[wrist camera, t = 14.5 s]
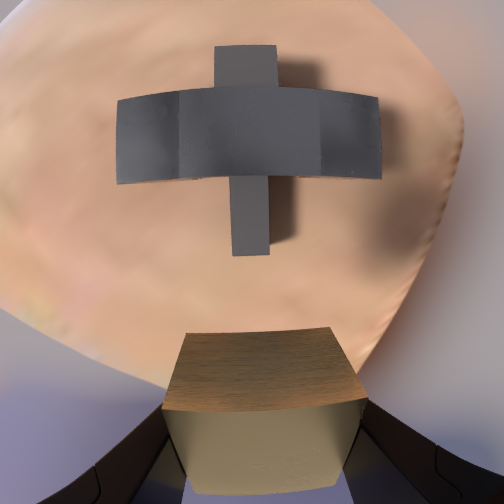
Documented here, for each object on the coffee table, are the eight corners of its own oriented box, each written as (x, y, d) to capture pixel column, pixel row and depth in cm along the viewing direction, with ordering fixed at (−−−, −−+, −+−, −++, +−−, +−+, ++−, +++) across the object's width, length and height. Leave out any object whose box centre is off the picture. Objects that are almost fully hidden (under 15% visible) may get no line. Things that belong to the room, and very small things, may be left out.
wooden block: (186, 333, 7) (161, 409, 4) (329, 327, 7) (368, 397, 5) (207, 440, 9) (200, 504, 6) (312, 435, 9) (328, 496, 6)
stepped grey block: (220, 73, 14) (214, 46, 11) (269, 71, 14) (276, 45, 11) (225, 248, 17) (220, 266, 13) (274, 246, 17) (283, 264, 13)
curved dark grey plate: (149, 120, 15) (117, 100, 10) (344, 117, 15) (377, 97, 11) (149, 183, 16) (116, 184, 11) (346, 179, 16) (381, 179, 11)
